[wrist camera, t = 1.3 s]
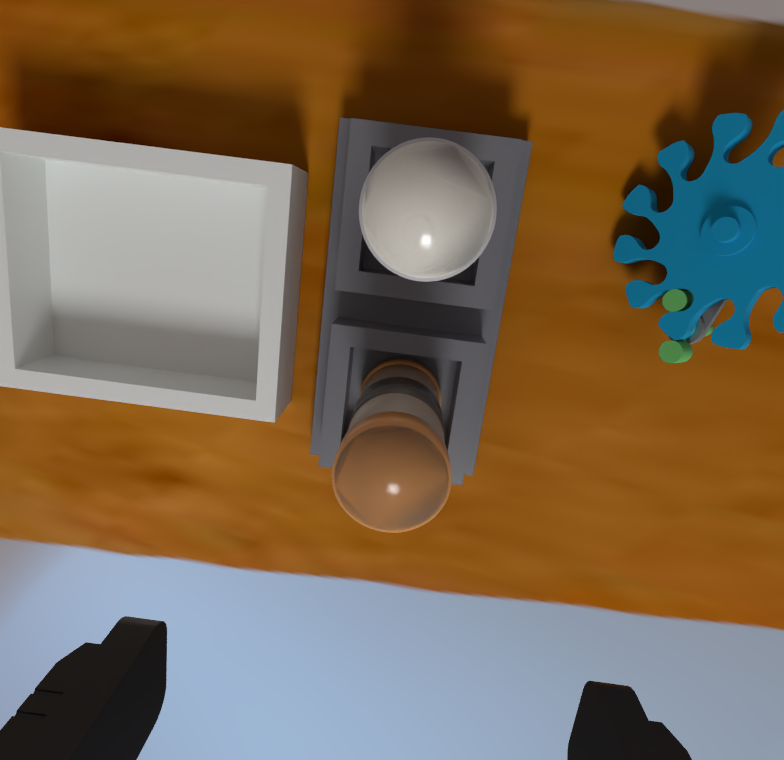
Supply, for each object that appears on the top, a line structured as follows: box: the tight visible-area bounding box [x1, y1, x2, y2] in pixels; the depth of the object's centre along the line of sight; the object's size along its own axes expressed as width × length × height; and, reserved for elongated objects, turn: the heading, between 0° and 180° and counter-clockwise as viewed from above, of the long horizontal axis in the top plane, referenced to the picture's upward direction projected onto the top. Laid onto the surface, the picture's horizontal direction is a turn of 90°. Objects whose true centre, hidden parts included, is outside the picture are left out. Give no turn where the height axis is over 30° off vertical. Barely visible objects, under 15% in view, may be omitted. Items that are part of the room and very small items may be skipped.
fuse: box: [359, 137, 497, 282], centre depth 21 cm, size 4×4×10 cm
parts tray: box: [0, 127, 309, 423], centre depth 27 cm, size 14×12×4 cm
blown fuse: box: [332, 357, 452, 533], centre depth 24 cm, size 4×4×10 cm
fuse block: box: [310, 117, 533, 485], centre depth 27 cm, size 17×9×3 cm, turn 173°
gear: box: [613, 110, 784, 363], centre depth 25 cm, size 11×6×10 cm
